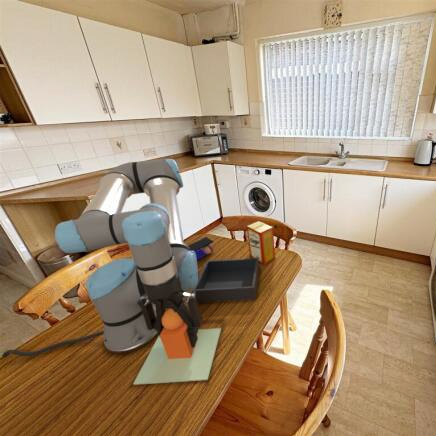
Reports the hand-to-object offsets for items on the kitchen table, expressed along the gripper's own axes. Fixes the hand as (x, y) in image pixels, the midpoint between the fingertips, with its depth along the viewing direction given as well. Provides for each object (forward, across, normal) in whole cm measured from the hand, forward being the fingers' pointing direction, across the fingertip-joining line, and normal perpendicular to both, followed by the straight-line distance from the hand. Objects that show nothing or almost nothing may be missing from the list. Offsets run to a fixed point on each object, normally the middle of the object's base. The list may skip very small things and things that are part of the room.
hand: (182, 343), depth 65 cm
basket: (+2, -8, -26) cm, 27 cm away
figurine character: (+2, +10, -45) cm, 46 cm away
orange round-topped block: (+2, 0, 0) cm, 2 cm away
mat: (+2, 0, 0) cm, 2 cm away
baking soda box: (+2, -19, -43) cm, 47 cm away
